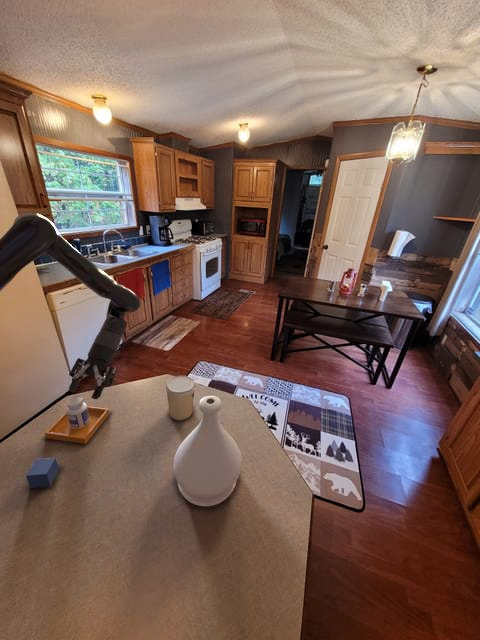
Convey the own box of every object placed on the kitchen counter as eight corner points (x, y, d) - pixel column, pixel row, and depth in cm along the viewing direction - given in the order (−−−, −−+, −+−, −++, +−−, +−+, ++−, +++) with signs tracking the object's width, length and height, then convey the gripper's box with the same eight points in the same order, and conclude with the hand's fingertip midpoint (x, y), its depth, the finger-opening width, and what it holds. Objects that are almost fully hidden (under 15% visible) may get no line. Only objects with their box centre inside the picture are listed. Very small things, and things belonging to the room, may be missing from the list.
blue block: (30, 488, 61) (25, 475, 59) (40, 471, 65) (36, 459, 63) (50, 486, 62) (46, 473, 60) (59, 469, 66) (55, 457, 64)
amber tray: (46, 438, 74) (44, 433, 73) (75, 408, 85) (74, 404, 84) (85, 443, 73) (84, 438, 72) (109, 413, 84) (109, 408, 84)
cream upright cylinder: (199, 415, 87) (199, 387, 82) (173, 426, 82) (171, 396, 77) (188, 399, 94) (188, 372, 89) (163, 408, 88) (161, 380, 84)
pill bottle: (87, 414, 83) (82, 392, 79) (92, 423, 79) (87, 401, 76) (68, 422, 79) (62, 400, 76) (72, 432, 76) (67, 409, 72)
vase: (205, 437, 78) (207, 370, 69) (252, 470, 70) (262, 398, 60) (159, 480, 65) (154, 404, 55) (210, 527, 56) (214, 447, 46)
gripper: (79, 338, 82) (54, 388, 76) (117, 347, 79) (93, 399, 73) (95, 345, 89) (73, 391, 83) (130, 353, 86) (109, 402, 80)
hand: (82, 395), depth 78 cm, fingers open, 8 cm apart
